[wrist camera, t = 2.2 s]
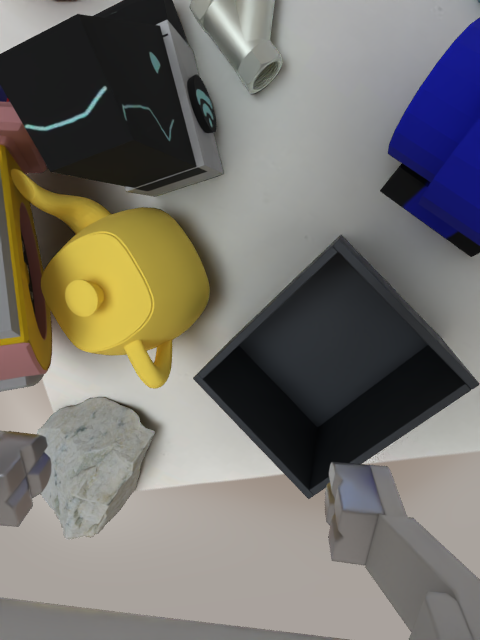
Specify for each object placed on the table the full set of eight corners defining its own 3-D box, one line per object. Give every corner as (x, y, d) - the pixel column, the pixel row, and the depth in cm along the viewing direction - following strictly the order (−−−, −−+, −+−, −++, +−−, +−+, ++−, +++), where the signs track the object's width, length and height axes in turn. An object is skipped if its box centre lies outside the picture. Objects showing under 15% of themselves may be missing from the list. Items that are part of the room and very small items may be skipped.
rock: (45, 377, 48) (-8, 408, 40) (164, 413, 45) (131, 454, 38) (41, 477, 52) (-7, 521, 45) (149, 515, 50) (116, 569, 42)
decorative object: (9, 172, 22) (-95, -135, 19) (154, 196, 39) (109, 35, 36) (134, 122, 19) (34, -234, 17) (230, 171, 37) (187, -3, 34)
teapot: (152, 147, 38) (66, 113, 26) (251, 326, 39) (211, 369, 28) (59, 219, 42) (-51, 217, 31) (151, 377, 44) (80, 432, 32)
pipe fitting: (259, -38, 32) (199, 25, 34) (251, -75, 29) (184, -2, 30) (316, 41, 33) (253, 99, 34) (316, 14, 29) (245, 81, 31)
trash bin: (341, 234, 35) (338, 239, 25) (442, 339, 35) (480, 384, 25) (230, 340, 41) (192, 378, 31) (317, 431, 40) (308, 499, 30)
